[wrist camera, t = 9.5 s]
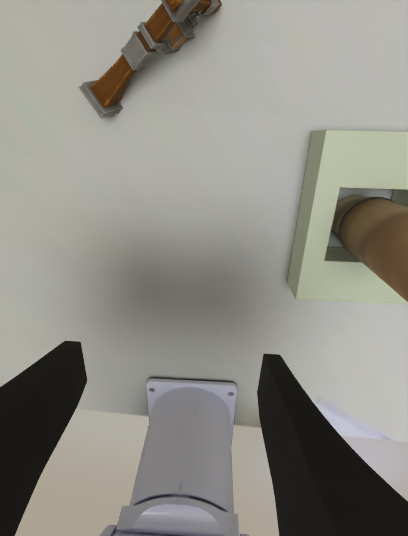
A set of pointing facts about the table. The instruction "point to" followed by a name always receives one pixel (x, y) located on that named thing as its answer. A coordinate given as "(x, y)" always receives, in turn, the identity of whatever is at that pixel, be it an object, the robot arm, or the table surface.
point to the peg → (376, 237)
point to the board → (323, 208)
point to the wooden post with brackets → (146, 50)
